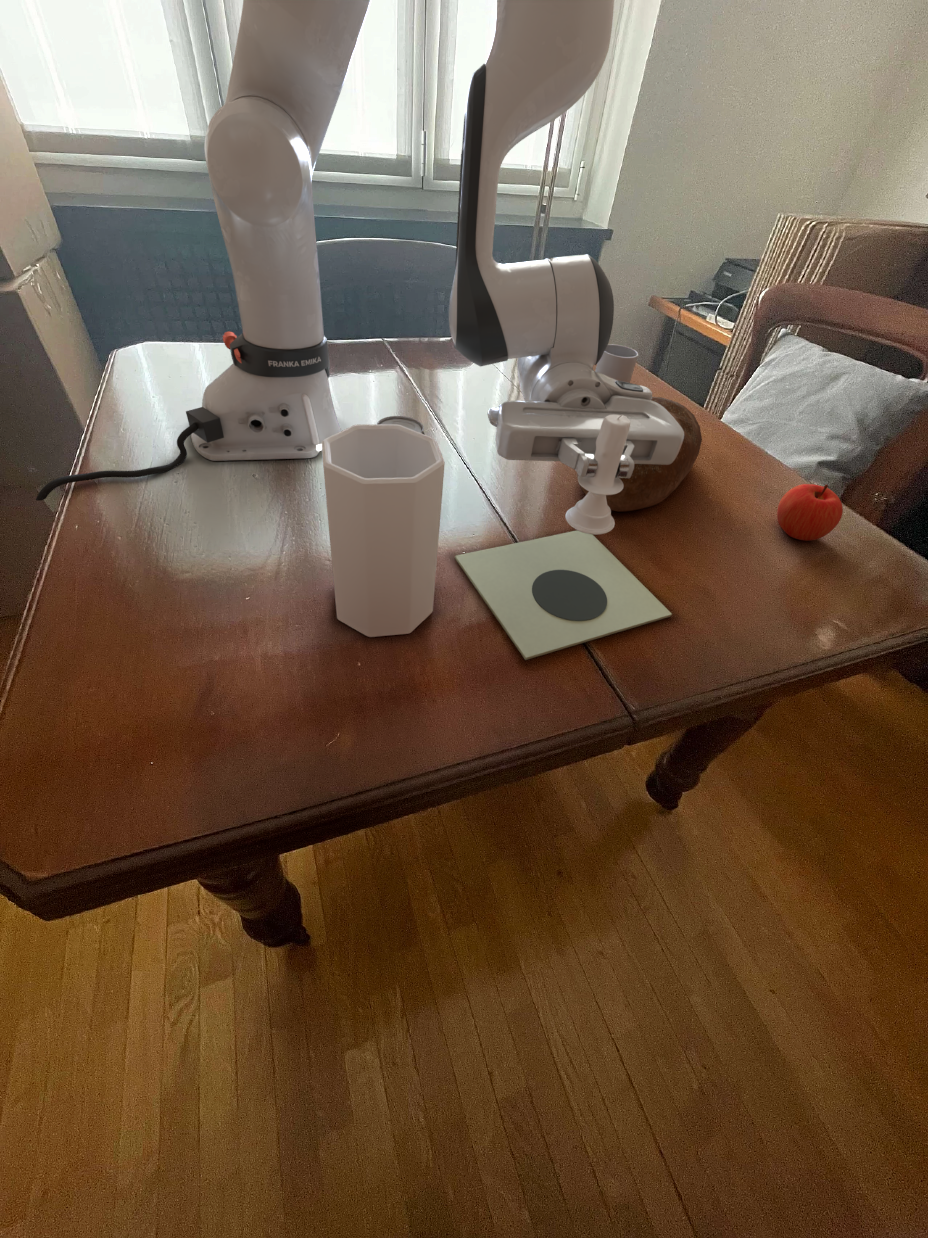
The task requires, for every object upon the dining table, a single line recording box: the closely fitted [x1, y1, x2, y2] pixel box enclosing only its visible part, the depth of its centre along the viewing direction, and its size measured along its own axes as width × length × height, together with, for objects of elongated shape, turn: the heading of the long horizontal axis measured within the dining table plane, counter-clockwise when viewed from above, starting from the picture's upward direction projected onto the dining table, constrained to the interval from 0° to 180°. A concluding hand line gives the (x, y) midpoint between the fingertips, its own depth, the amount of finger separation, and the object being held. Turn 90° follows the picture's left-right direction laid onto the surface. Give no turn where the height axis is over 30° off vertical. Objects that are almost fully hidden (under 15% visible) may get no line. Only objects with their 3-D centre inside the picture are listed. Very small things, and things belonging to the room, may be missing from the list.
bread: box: [576, 396, 703, 513], centre depth 84 cm, size 16×29×11 cm, turn 147°
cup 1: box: [321, 423, 446, 638], centre depth 54 cm, size 11×11×18 cm
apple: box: [776, 483, 844, 542], centre depth 78 cm, size 8×8×8 cm
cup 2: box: [594, 343, 639, 383], centre depth 108 cm, size 7×10×9 cm
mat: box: [454, 530, 673, 661], centre depth 66 cm, size 20×18×1 cm
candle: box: [565, 415, 630, 536], centre depth 55 cm, size 5×5×12 cm
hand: (607, 471), depth 54 cm, fingers closed on candle, 2 cm apart
